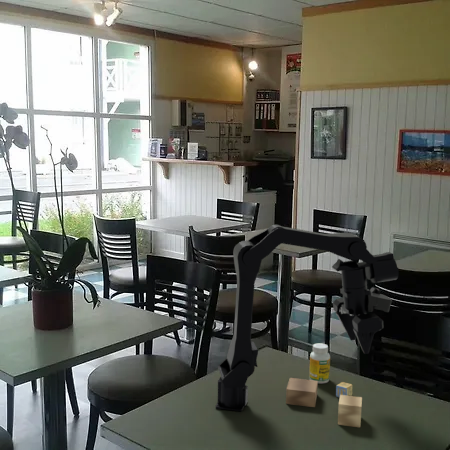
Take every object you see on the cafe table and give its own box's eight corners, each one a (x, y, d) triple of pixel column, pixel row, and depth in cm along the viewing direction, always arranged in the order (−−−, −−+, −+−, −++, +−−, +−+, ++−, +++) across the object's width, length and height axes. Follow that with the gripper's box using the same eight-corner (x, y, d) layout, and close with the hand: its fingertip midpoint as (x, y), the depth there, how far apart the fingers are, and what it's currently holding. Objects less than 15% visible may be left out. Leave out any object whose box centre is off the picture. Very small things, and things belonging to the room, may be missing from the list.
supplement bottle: (319, 374, 159) (321, 340, 157) (333, 381, 154) (335, 346, 153) (304, 378, 156) (306, 344, 154) (318, 385, 151) (320, 350, 150)
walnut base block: (285, 404, 141) (286, 389, 140) (289, 392, 147) (289, 377, 147) (314, 408, 139) (315, 392, 139) (317, 395, 146) (317, 380, 145)
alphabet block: (335, 396, 145) (336, 385, 145) (341, 392, 148) (341, 381, 147) (346, 400, 143) (347, 388, 143) (352, 395, 146) (352, 384, 145)
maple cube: (337, 424, 131) (338, 403, 130) (339, 414, 136) (340, 394, 135) (360, 427, 130) (361, 406, 129) (360, 417, 134) (362, 397, 134)
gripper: (403, 290, 131) (407, 355, 134) (371, 271, 149) (375, 329, 152) (356, 298, 130) (361, 363, 132) (330, 278, 148) (335, 335, 151)
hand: (359, 346), depth 142 cm, fingers open, 9 cm apart
